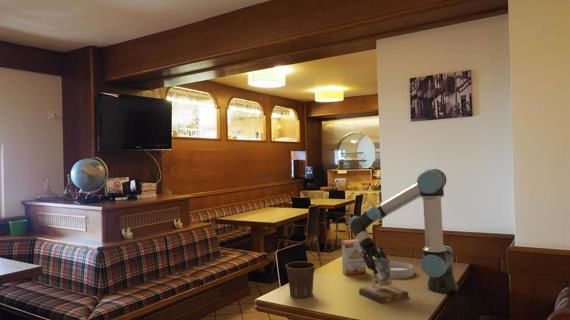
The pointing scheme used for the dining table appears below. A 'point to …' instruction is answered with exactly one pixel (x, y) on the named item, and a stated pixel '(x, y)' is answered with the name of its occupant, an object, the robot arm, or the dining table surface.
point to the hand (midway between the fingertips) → (386, 277)
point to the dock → (383, 293)
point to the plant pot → (300, 278)
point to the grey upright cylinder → (382, 272)
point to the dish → (401, 269)
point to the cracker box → (352, 258)
